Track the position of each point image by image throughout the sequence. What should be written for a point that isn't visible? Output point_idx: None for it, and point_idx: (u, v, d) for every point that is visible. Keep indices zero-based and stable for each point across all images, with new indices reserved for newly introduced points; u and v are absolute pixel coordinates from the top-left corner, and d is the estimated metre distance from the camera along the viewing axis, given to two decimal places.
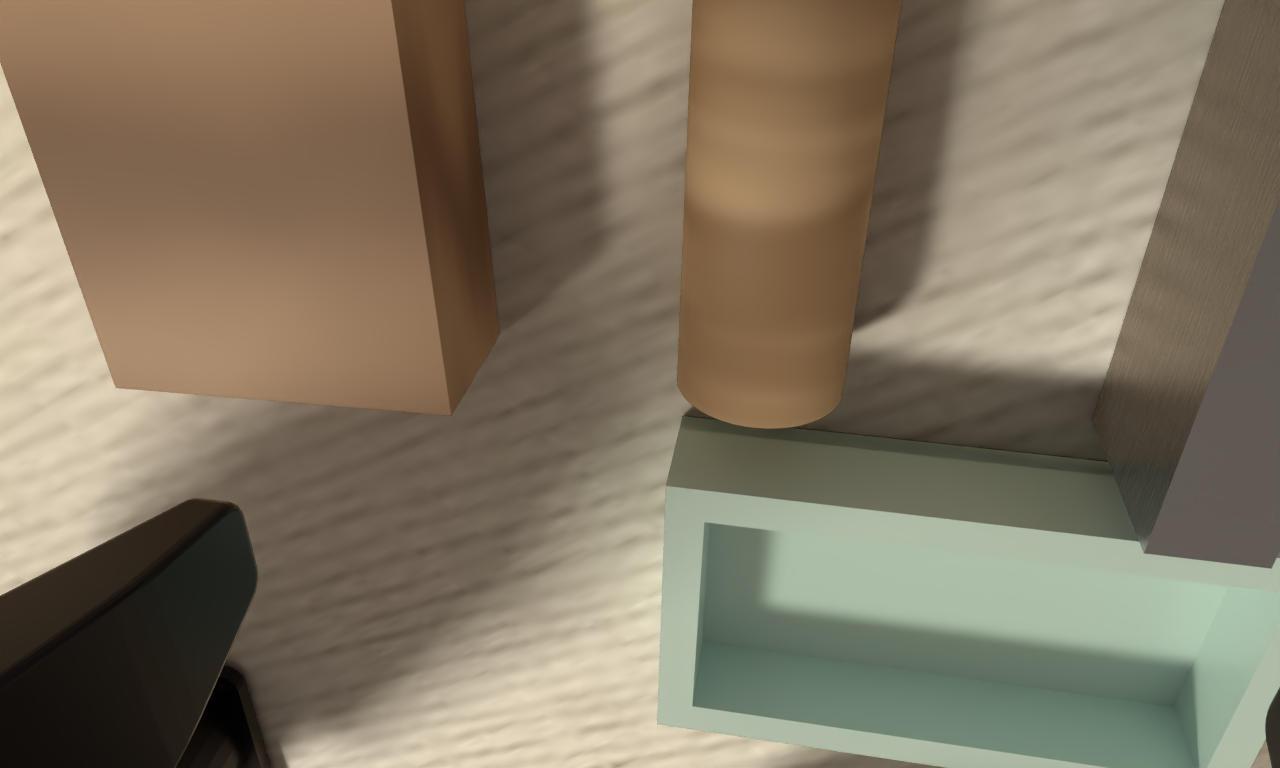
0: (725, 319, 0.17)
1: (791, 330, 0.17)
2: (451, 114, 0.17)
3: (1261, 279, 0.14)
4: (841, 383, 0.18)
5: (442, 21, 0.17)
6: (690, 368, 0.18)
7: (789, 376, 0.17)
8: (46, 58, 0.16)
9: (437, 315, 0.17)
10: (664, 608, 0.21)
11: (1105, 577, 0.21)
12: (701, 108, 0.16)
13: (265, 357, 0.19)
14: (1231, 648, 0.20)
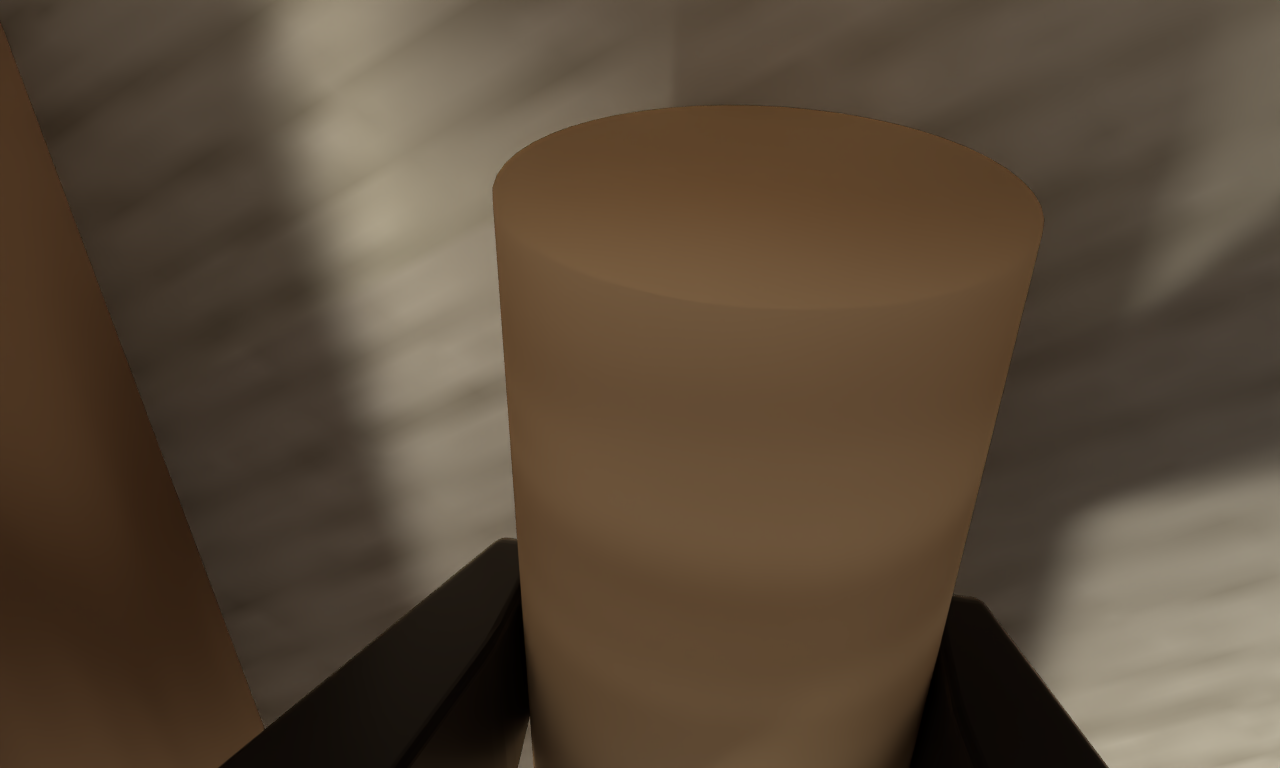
0: None
1: None
2: (47, 457, 0.09)
3: None
4: None
5: None
6: None
7: None
8: None
9: None
10: None
11: None
12: (540, 588, 0.07)
13: None
14: None
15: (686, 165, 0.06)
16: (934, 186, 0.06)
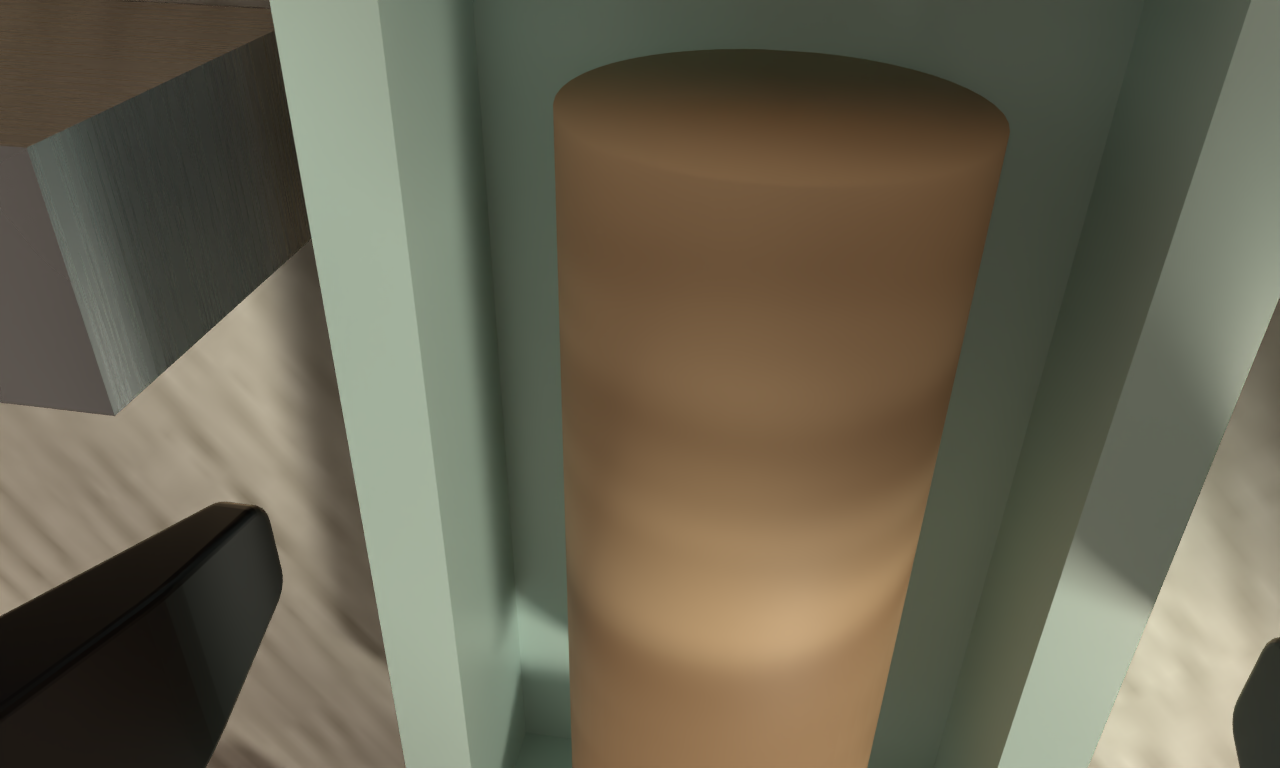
0: None
1: None
2: None
3: None
4: None
5: None
6: None
7: None
8: None
9: None
10: None
11: None
12: (583, 450, 0.08)
13: None
14: None
15: (712, 90, 0.07)
16: (921, 107, 0.07)
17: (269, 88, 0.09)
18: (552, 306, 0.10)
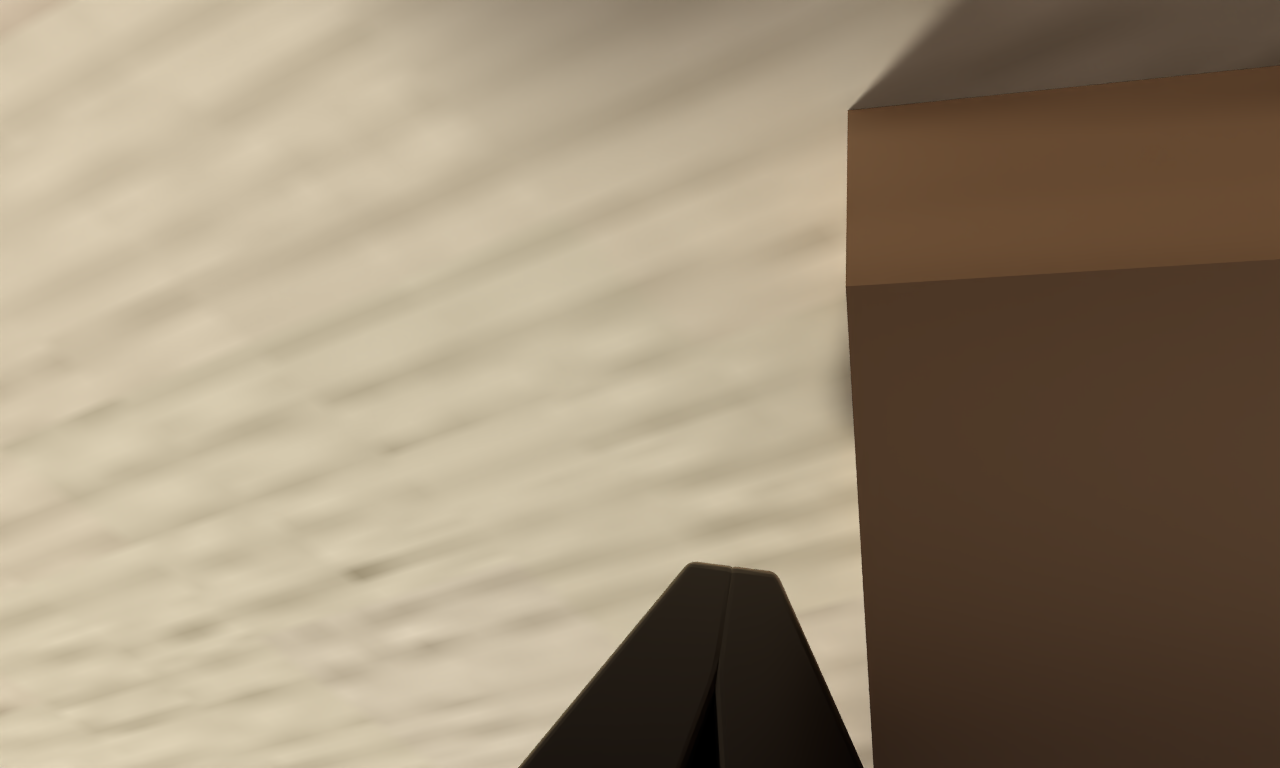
0: None
1: None
2: None
3: None
4: None
5: None
6: None
7: None
8: (1005, 643, 0.06)
9: None
10: None
11: None
12: None
13: None
14: None
15: None
16: None
17: None
18: None
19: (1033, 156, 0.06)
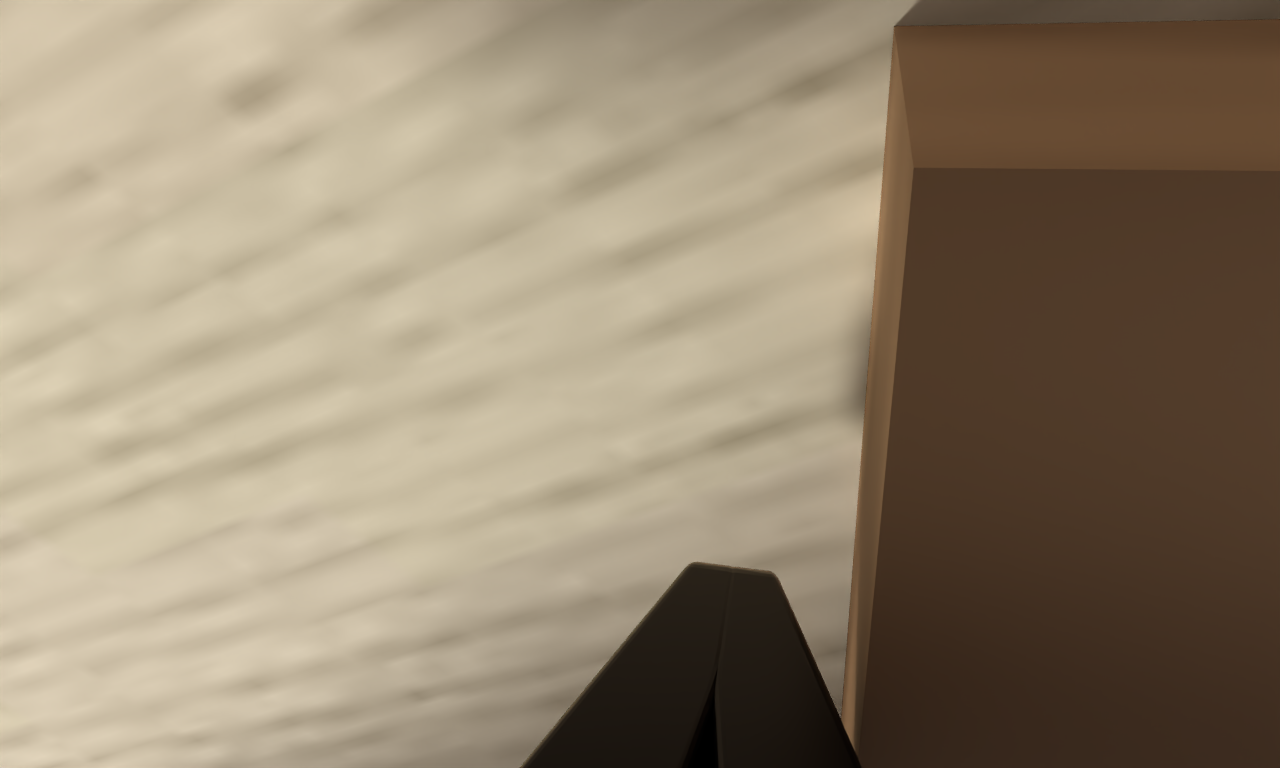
0: None
1: None
2: None
3: None
4: None
5: None
6: None
7: None
8: (1023, 576, 0.06)
9: None
10: None
11: None
12: None
13: None
14: None
15: None
16: None
17: None
18: None
19: (1097, 74, 0.06)
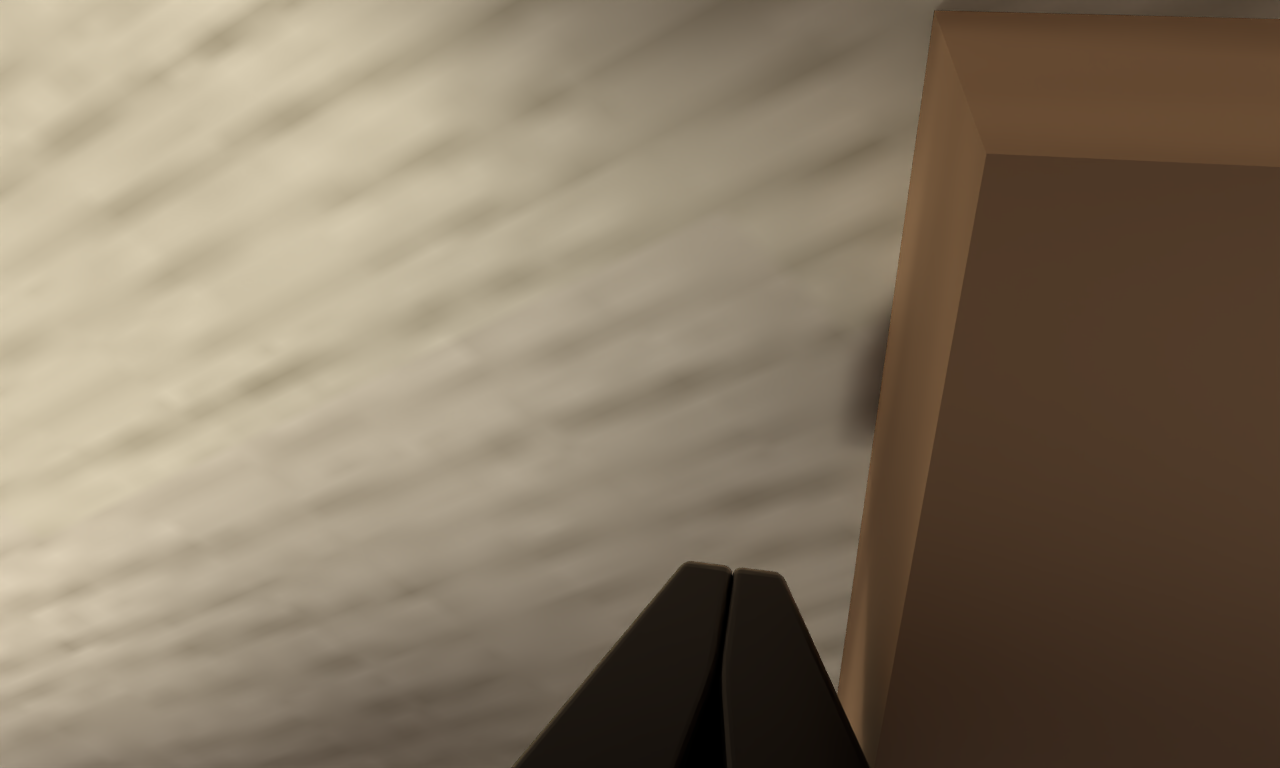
0: None
1: None
2: None
3: None
4: None
5: None
6: None
7: None
8: (1062, 582, 0.06)
9: None
10: None
11: None
12: None
13: None
14: None
15: None
16: None
17: None
18: None
19: (1155, 66, 0.06)
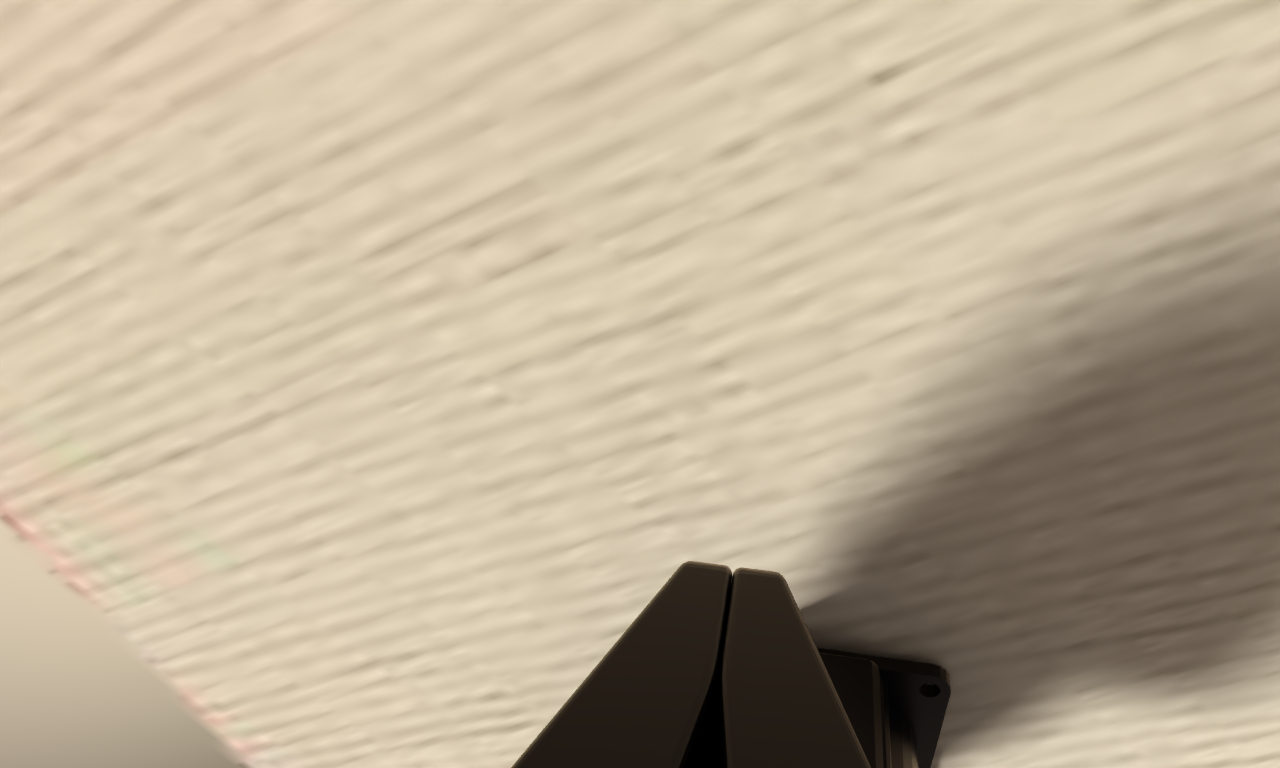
0: None
1: None
2: None
3: None
4: None
5: None
6: None
7: None
8: None
9: None
10: None
11: None
12: None
13: None
14: None
15: None
16: None
17: None
18: None
19: None
